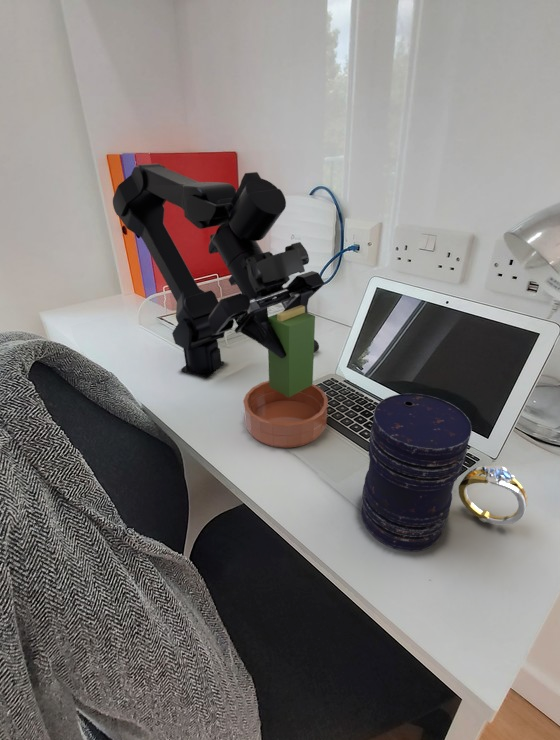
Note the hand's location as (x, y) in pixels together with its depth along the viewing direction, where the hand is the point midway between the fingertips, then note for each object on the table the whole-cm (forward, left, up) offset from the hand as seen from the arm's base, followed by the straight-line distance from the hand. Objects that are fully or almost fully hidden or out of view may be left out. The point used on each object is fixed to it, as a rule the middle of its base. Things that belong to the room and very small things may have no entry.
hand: (297, 350), depth 60 cm
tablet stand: (-15, +26, -14) cm, 33 cm away
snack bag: (-1, 0, -7) cm, 7 cm away
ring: (+28, -8, -14) cm, 32 cm away
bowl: (-2, 0, -13) cm, 14 cm away
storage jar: (+19, -12, -14) cm, 26 cm away
